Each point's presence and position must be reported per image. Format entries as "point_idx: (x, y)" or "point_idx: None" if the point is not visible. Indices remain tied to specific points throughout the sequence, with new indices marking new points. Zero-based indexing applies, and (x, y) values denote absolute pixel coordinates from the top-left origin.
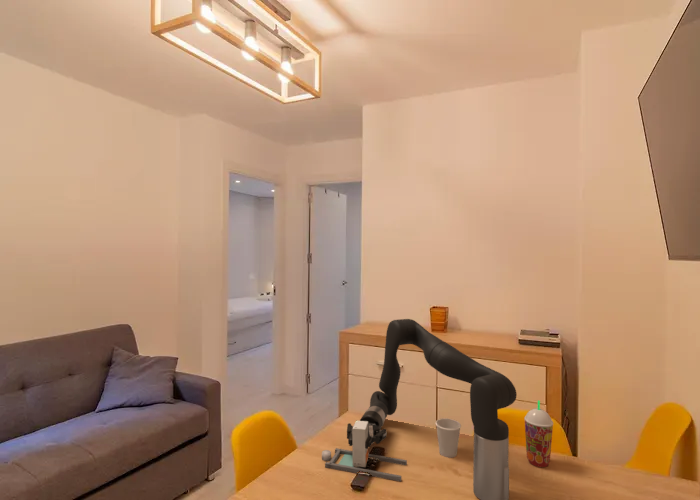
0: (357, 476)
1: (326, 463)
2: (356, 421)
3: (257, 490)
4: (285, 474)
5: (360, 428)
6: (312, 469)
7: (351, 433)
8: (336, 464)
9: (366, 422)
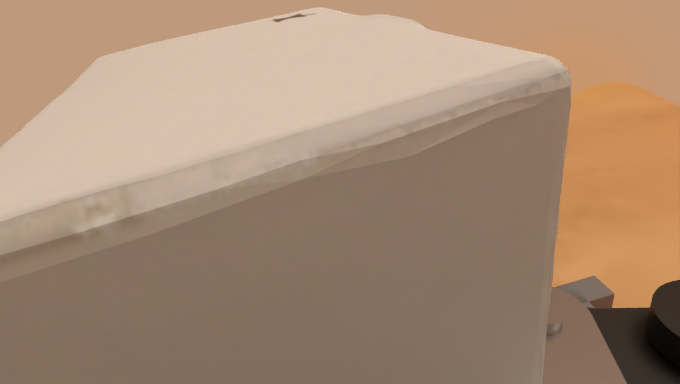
0: None
1: (587, 282)
2: (465, 44)
3: (599, 96)
4: (661, 159)
5: (191, 37)
6: (622, 244)
7: (565, 306)
8: None
9: (19, 156)
